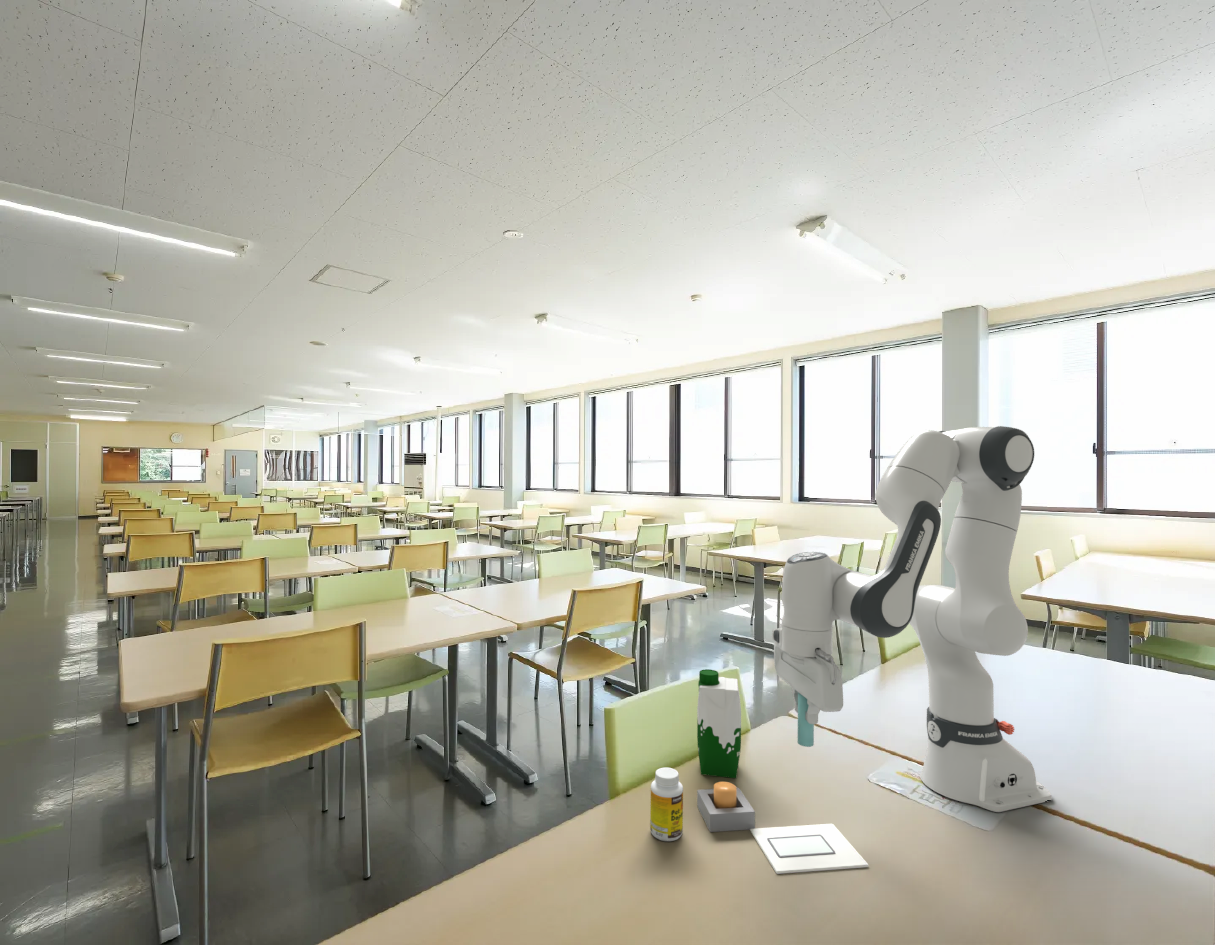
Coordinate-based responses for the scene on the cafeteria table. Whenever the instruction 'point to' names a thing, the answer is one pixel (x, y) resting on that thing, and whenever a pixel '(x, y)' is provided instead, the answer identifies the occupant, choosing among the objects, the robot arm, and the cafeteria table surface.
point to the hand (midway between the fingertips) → (806, 717)
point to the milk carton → (718, 724)
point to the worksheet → (807, 848)
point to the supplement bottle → (666, 805)
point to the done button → (724, 795)
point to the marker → (804, 724)
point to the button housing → (725, 813)
